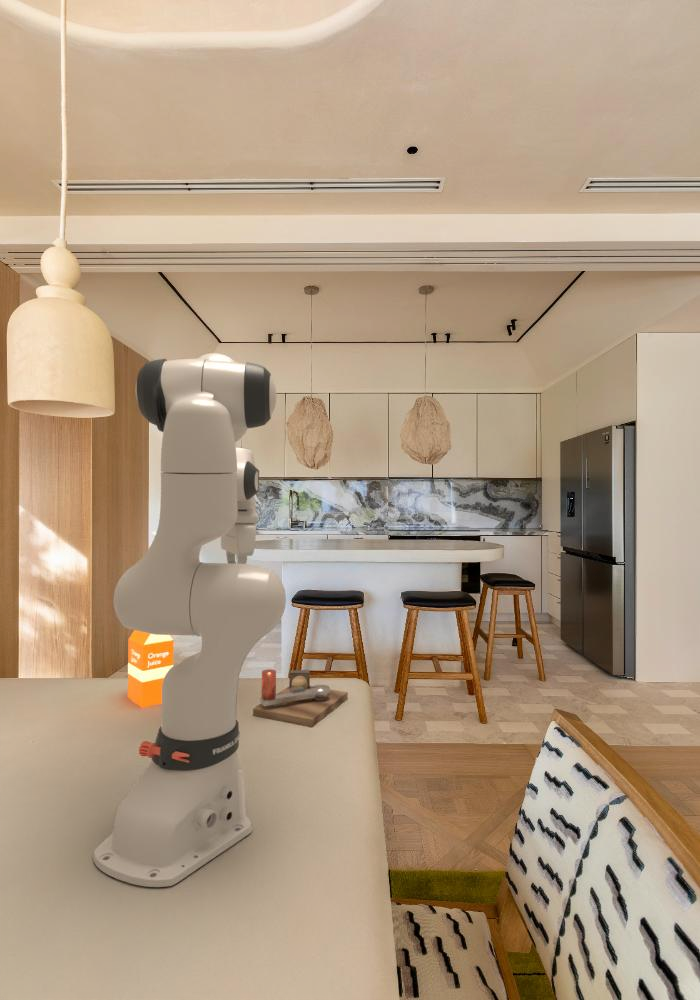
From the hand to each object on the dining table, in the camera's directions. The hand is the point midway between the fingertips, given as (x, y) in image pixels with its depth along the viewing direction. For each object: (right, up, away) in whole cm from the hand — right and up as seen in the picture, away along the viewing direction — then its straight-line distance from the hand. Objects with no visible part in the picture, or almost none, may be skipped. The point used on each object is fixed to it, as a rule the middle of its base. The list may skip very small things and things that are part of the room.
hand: (235, 571), depth 136 cm
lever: (+15, -29, -6) cm, 33 cm away
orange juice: (-21, -31, -1) cm, 37 cm away
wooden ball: (+15, -30, +1) cm, 34 cm away
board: (+17, -31, -5) cm, 36 cm away
